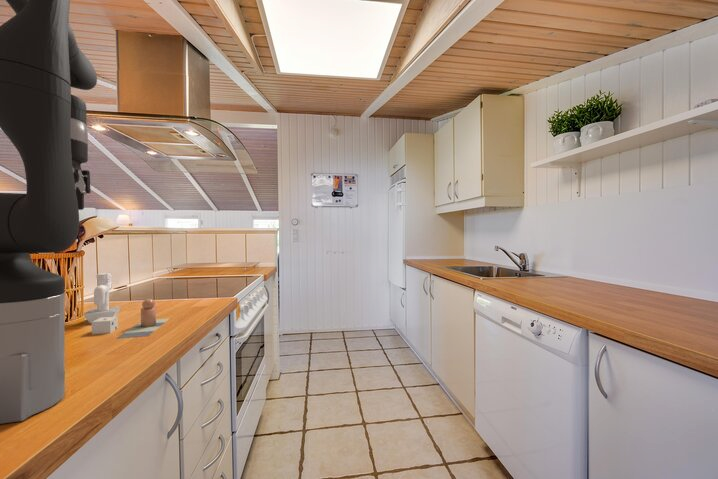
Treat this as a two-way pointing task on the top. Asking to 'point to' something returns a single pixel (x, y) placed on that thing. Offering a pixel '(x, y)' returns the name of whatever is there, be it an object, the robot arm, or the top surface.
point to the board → (142, 330)
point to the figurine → (102, 299)
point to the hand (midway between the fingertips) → (66, 208)
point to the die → (104, 325)
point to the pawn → (148, 313)
